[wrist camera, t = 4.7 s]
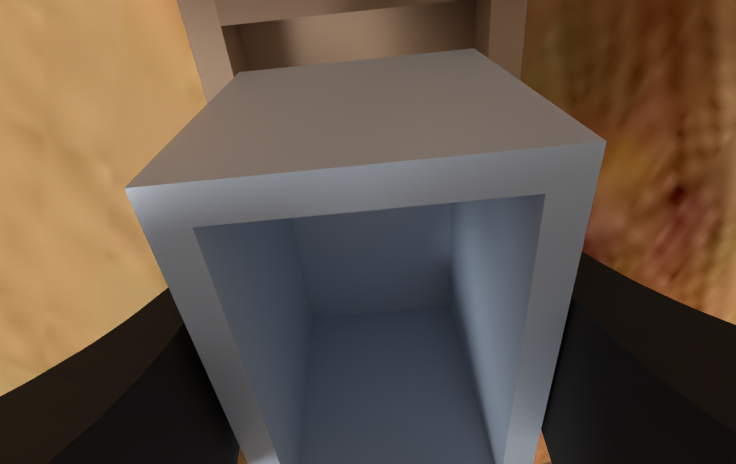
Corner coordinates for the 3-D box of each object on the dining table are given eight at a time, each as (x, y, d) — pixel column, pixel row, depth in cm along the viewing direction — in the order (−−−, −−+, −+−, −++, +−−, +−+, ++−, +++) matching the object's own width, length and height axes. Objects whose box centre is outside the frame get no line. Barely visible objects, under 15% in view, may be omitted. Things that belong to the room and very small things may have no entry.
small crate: (462, 305, 14) (525, 496, 9) (299, 319, 14) (271, 517, 9) (474, 48, 10) (606, 141, 5) (238, 72, 10) (124, 188, 5)
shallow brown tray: (484, 261, 19) (499, 298, 17) (280, 279, 20) (271, 317, 18) (504, -50, 13) (532, -52, 11) (202, -16, 13) (173, -11, 11)
